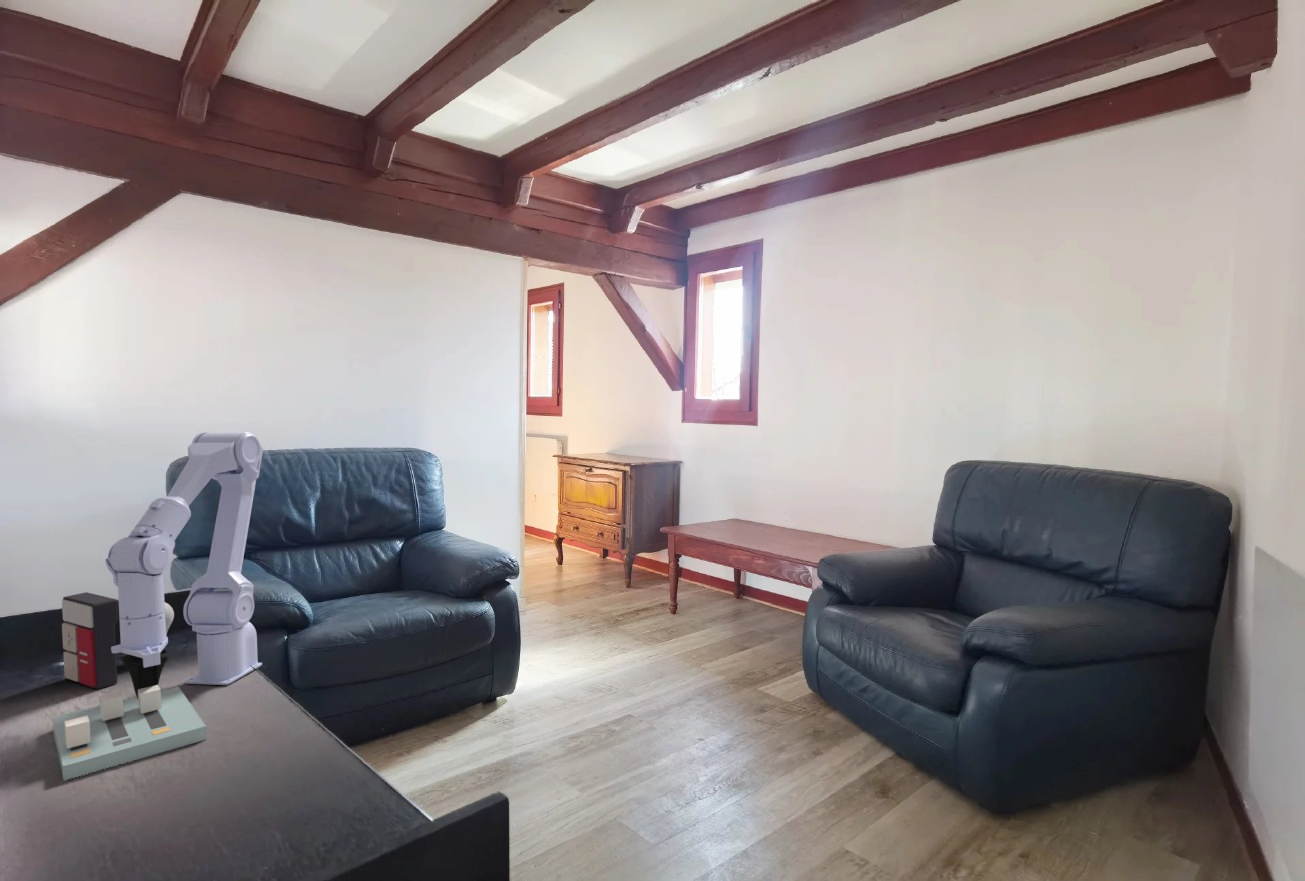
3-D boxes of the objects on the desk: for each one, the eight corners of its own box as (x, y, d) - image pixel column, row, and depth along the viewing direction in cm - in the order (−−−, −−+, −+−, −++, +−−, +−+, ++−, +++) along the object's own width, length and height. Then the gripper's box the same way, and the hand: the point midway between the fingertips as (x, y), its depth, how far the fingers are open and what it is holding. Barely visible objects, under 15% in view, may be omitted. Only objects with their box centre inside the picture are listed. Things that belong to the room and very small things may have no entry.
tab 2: (100, 715, 104) (99, 696, 104) (121, 710, 106) (120, 691, 106) (102, 721, 103) (101, 701, 102) (123, 715, 104) (122, 696, 104)
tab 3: (138, 708, 107) (137, 689, 107) (158, 703, 109) (157, 684, 108) (141, 713, 105) (140, 694, 105) (161, 708, 107) (160, 689, 107)
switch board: (52, 730, 105) (52, 716, 105) (179, 698, 116) (178, 686, 116) (63, 781, 91) (62, 766, 91) (206, 739, 102) (205, 725, 102)
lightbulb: (146, 665, 131) (143, 607, 131) (131, 659, 135) (128, 603, 134) (181, 655, 136) (179, 599, 136) (167, 649, 140) (164, 595, 139)
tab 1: (65, 742, 96) (64, 721, 96) (88, 736, 98) (87, 715, 98) (67, 748, 94) (65, 727, 94) (90, 742, 96) (89, 721, 96)
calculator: (61, 680, 124) (57, 597, 124) (90, 671, 128) (85, 591, 127) (93, 691, 119) (88, 605, 119) (121, 682, 123) (117, 599, 122)
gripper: (104, 609, 110) (108, 693, 111) (116, 630, 100) (121, 722, 101) (158, 600, 115) (162, 680, 116) (175, 619, 105) (179, 707, 105)
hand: (146, 699), depth 109 cm, fingers closed
